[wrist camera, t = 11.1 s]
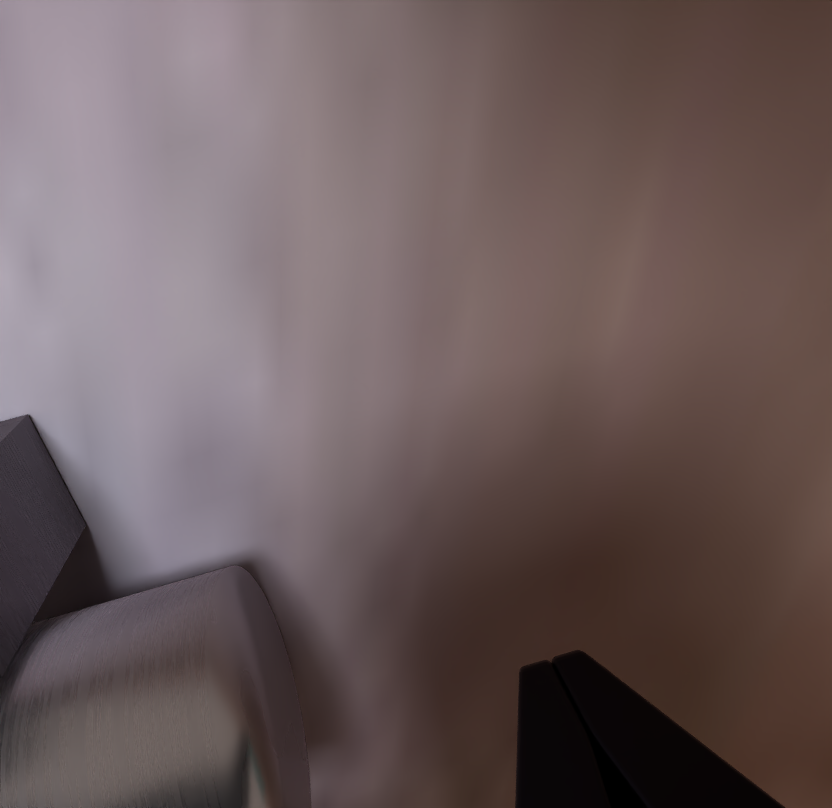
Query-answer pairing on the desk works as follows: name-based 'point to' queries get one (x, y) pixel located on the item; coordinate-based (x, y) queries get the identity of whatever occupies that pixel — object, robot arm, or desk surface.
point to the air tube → (156, 704)
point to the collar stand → (29, 530)
